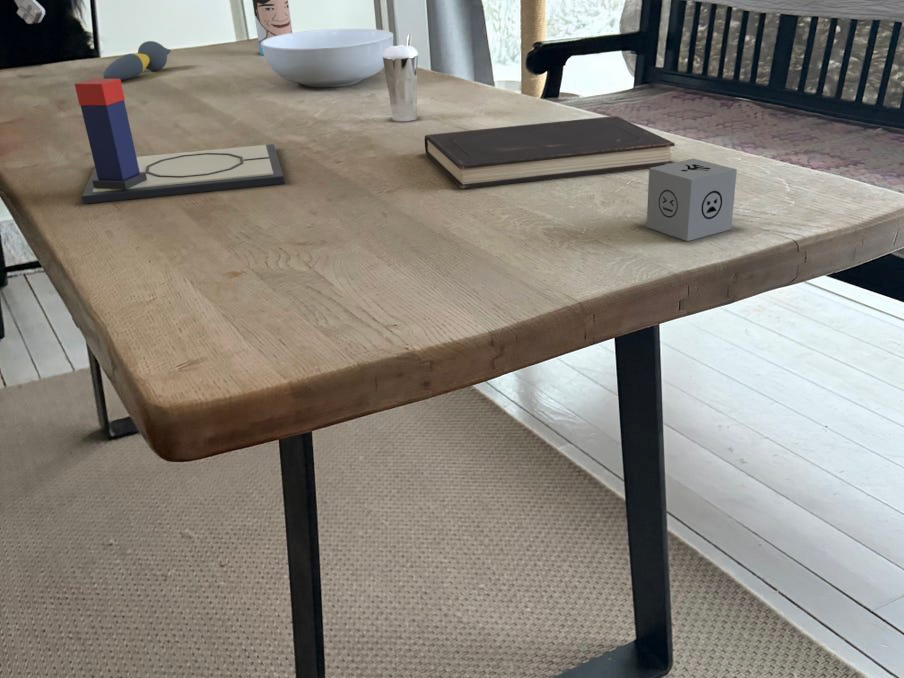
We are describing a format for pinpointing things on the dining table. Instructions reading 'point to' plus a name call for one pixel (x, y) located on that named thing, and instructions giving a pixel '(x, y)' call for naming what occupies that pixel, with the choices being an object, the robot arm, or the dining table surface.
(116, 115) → the blue and red block
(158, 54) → the paintbrush
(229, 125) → the dining table surface
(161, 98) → the dining table surface
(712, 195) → the dice cube
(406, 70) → the milkshake
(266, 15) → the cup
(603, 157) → the hardcover book
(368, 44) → the serving bowl
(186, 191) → the beige flat board
